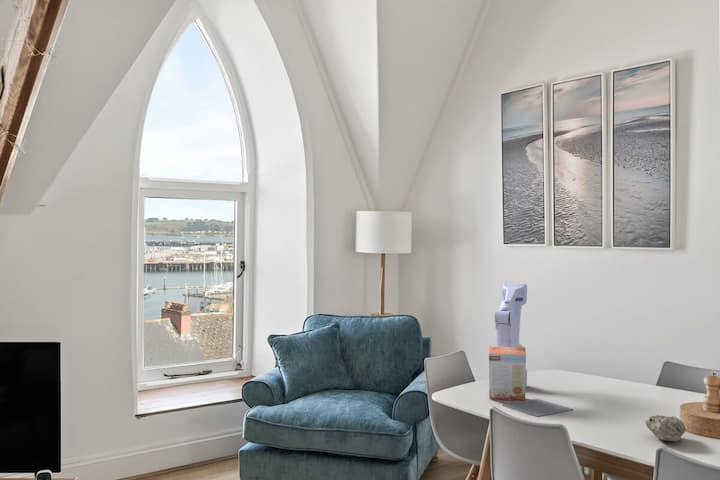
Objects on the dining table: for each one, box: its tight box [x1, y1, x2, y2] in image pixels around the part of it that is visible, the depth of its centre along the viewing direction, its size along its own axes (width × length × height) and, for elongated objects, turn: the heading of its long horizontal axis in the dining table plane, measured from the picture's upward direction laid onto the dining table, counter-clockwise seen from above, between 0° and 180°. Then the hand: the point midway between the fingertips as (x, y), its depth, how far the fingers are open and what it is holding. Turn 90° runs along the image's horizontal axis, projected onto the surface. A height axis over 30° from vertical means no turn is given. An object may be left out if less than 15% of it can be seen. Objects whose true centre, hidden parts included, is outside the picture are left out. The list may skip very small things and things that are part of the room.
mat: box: [502, 398, 574, 418], centre depth 252 cm, size 18×18×1 cm
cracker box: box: [488, 346, 527, 401], centre depth 262 cm, size 14×6×21 cm, turn 78°
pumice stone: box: [645, 414, 687, 443], centre depth 212 cm, size 14×12×8 cm
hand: (503, 374), depth 268 cm, fingers closed
